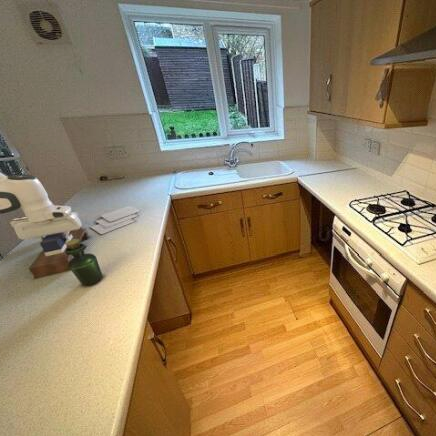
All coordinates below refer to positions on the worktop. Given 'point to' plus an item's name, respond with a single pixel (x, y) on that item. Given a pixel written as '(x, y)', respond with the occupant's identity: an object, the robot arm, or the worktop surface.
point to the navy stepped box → (54, 243)
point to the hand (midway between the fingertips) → (58, 241)
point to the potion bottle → (83, 264)
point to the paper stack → (115, 219)
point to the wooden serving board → (55, 259)
